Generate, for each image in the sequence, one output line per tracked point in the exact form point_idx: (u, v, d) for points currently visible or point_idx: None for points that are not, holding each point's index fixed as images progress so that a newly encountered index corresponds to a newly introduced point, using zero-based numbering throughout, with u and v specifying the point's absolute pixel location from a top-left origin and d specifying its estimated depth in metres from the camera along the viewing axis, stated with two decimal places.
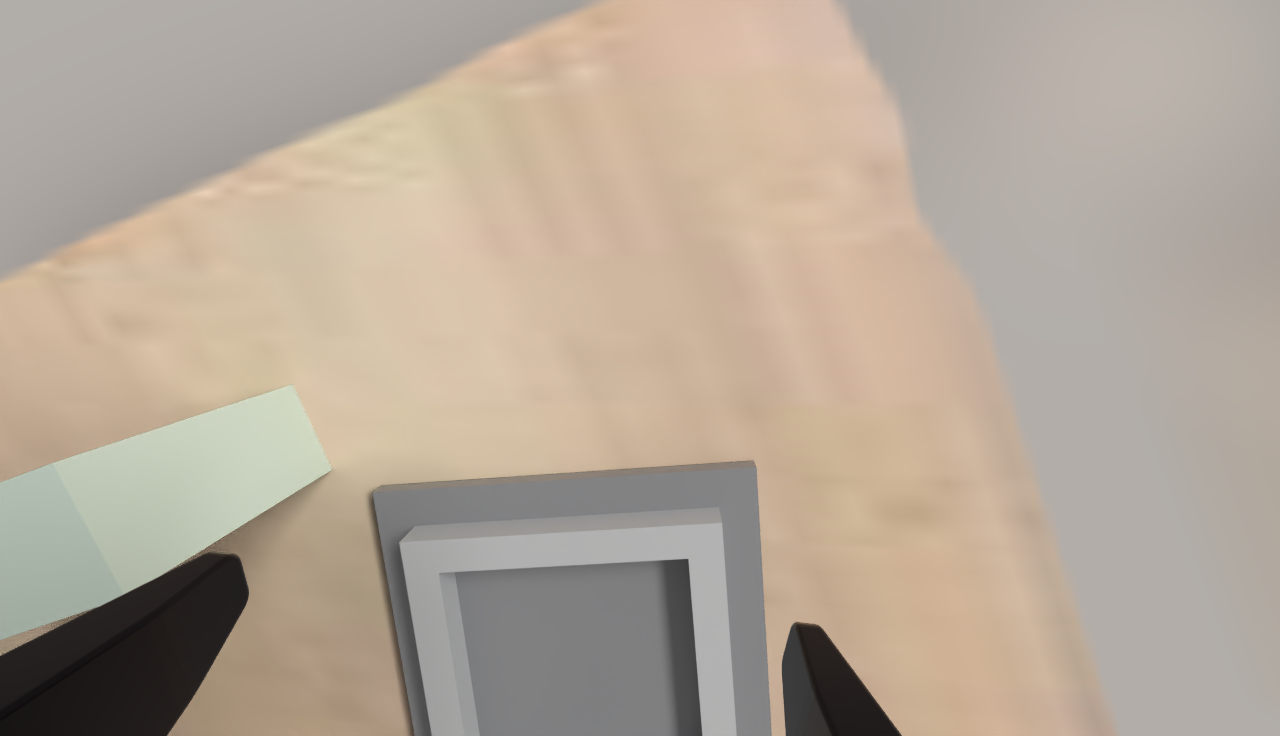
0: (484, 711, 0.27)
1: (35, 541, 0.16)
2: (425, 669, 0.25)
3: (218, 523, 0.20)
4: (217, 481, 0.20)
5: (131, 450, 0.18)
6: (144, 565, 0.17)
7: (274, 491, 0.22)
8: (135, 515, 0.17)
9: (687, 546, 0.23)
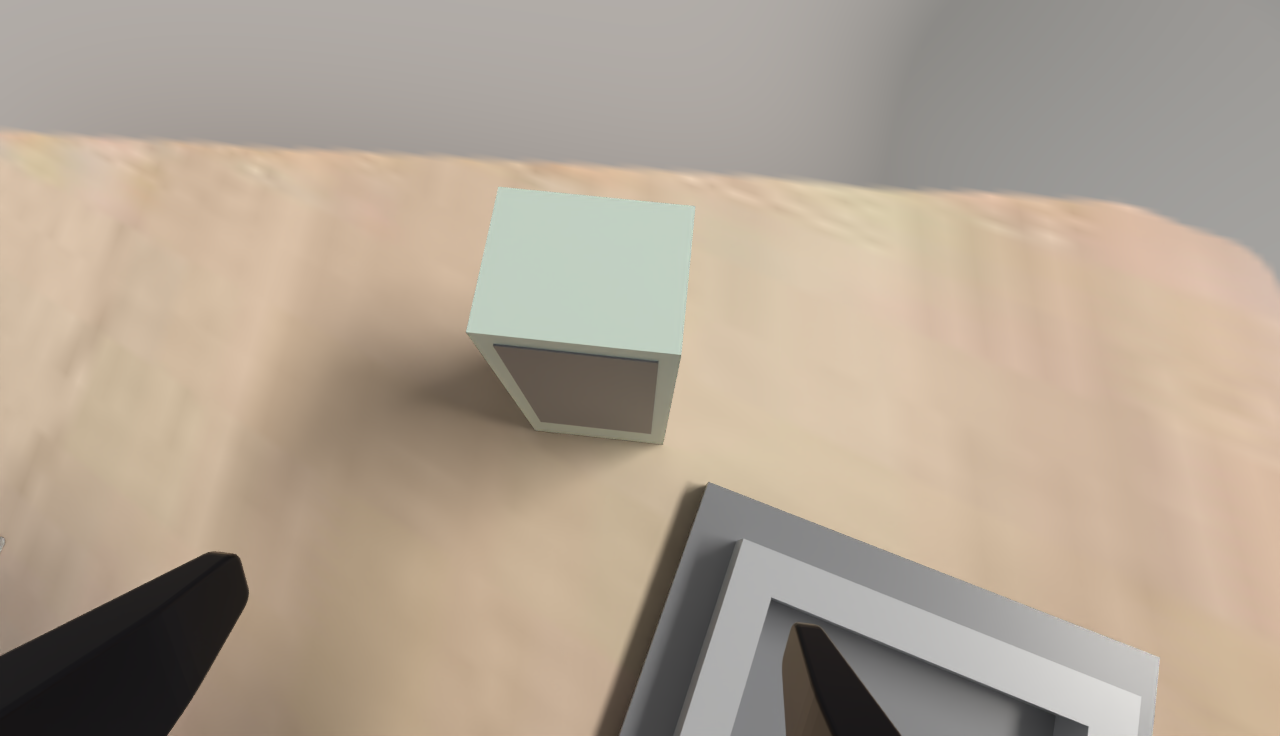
0: None
1: (624, 262, 0.14)
2: (691, 722, 0.18)
3: None
4: None
5: None
6: None
7: None
8: None
9: (1091, 708, 0.18)
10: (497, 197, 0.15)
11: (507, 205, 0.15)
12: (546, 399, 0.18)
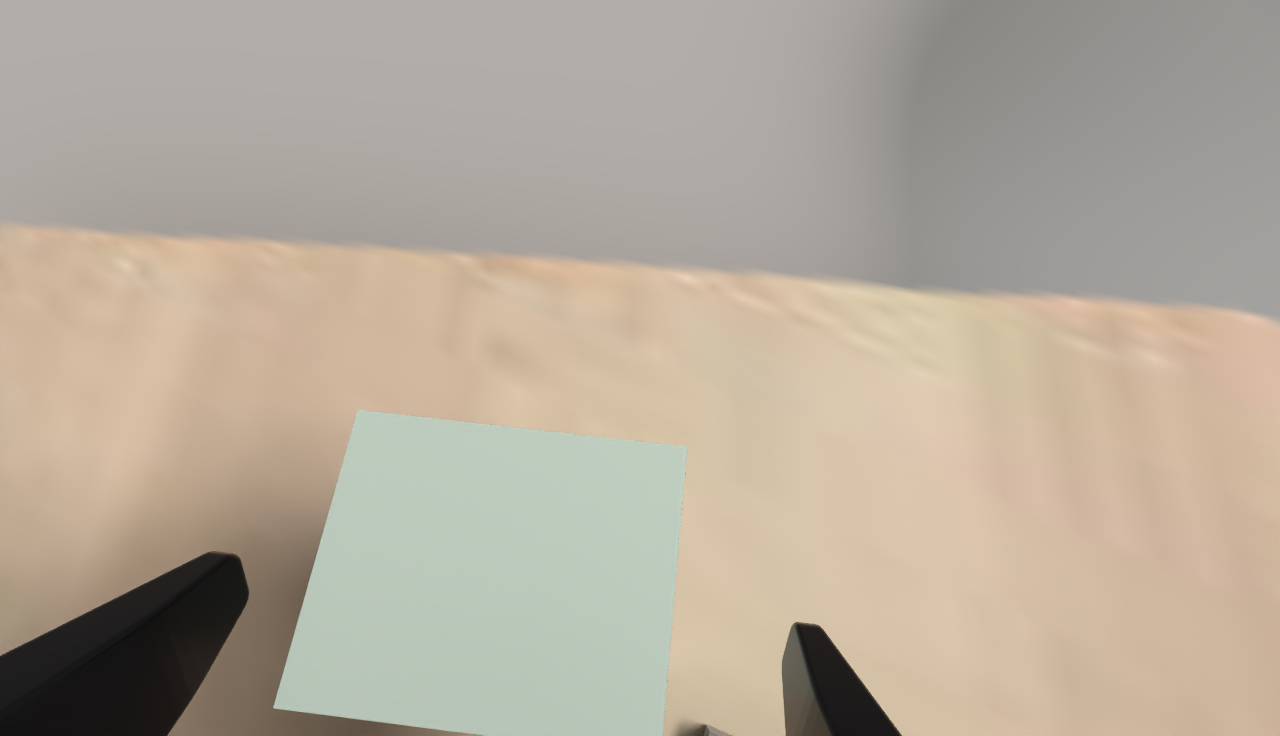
0: None
1: (563, 559, 0.08)
2: None
3: None
4: None
5: None
6: None
7: None
8: None
9: None
10: (354, 430, 0.09)
11: (369, 446, 0.09)
12: None
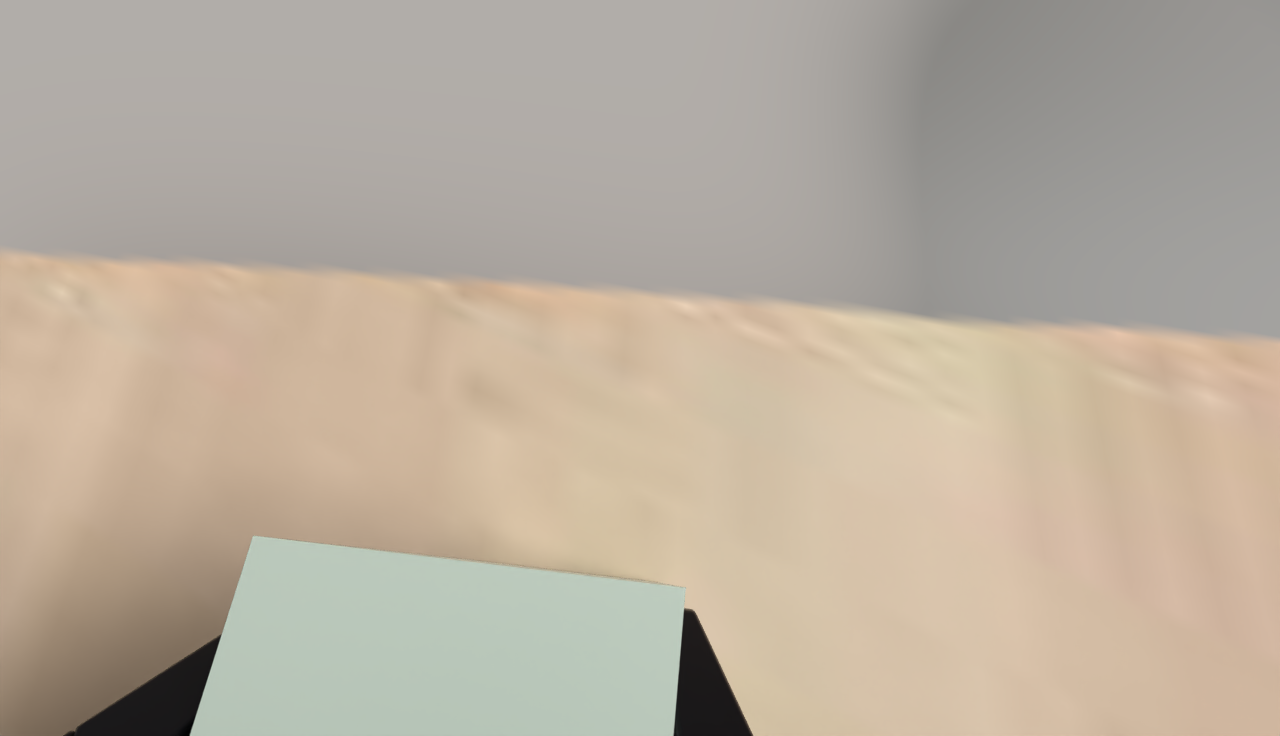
0: None
1: None
2: None
3: None
4: None
5: None
6: None
7: None
8: None
9: None
10: (246, 565, 0.07)
11: (266, 587, 0.07)
12: None
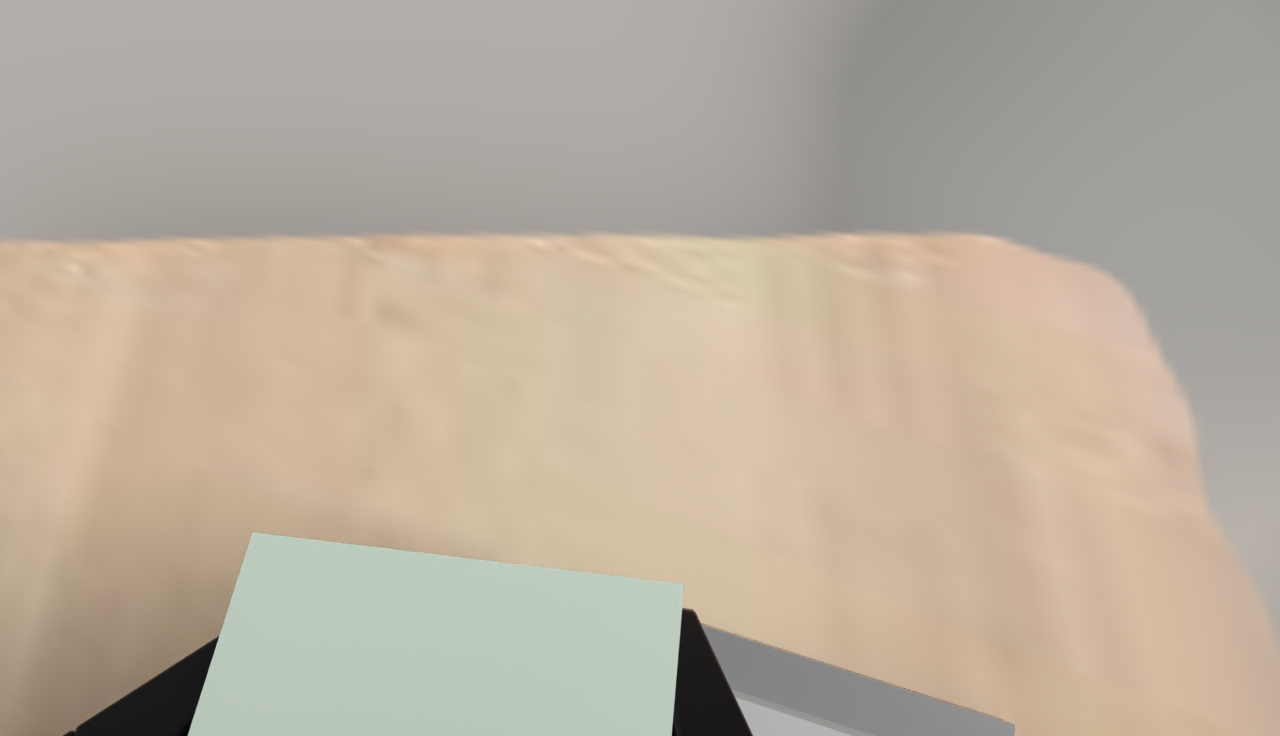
0: None
1: None
2: None
3: None
4: None
5: None
6: None
7: None
8: None
9: None
10: (246, 561, 0.07)
11: (265, 583, 0.07)
12: None
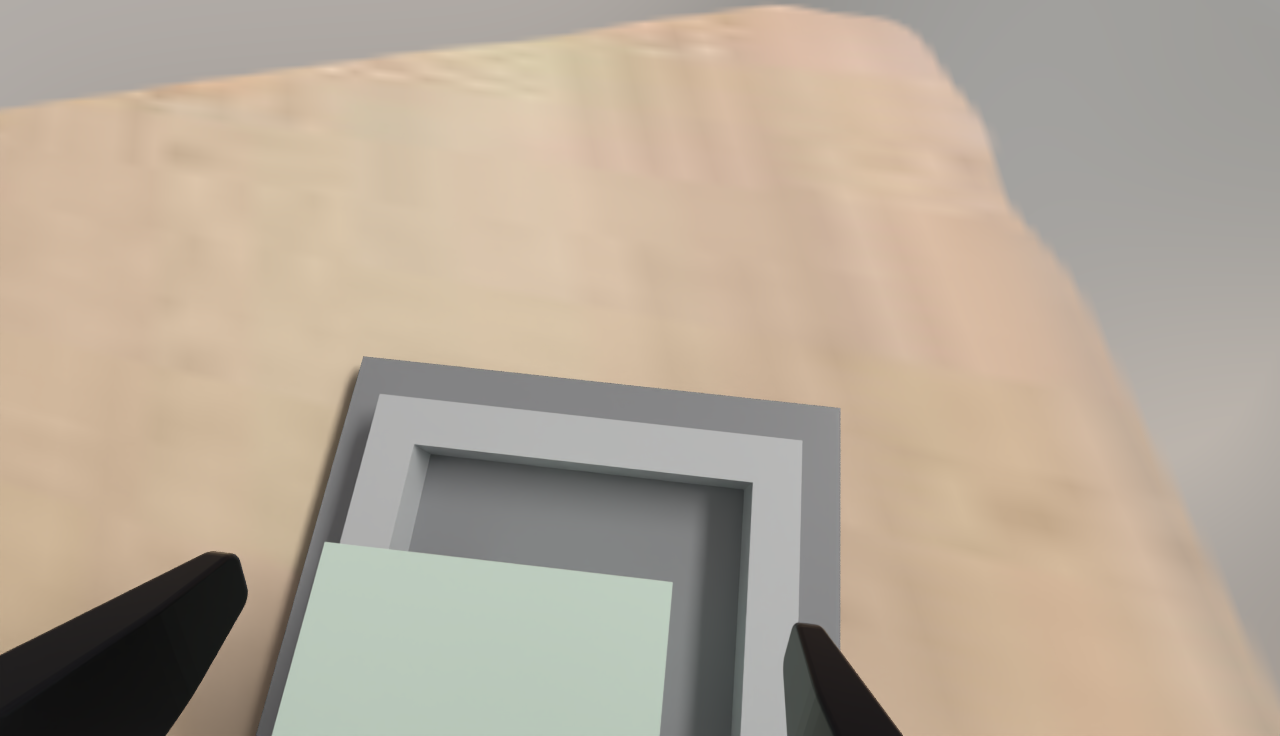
0: None
1: (541, 711, 0.08)
2: None
3: None
4: None
5: None
6: None
7: None
8: None
9: (754, 464, 0.17)
10: (320, 565, 0.08)
11: (337, 583, 0.08)
12: None
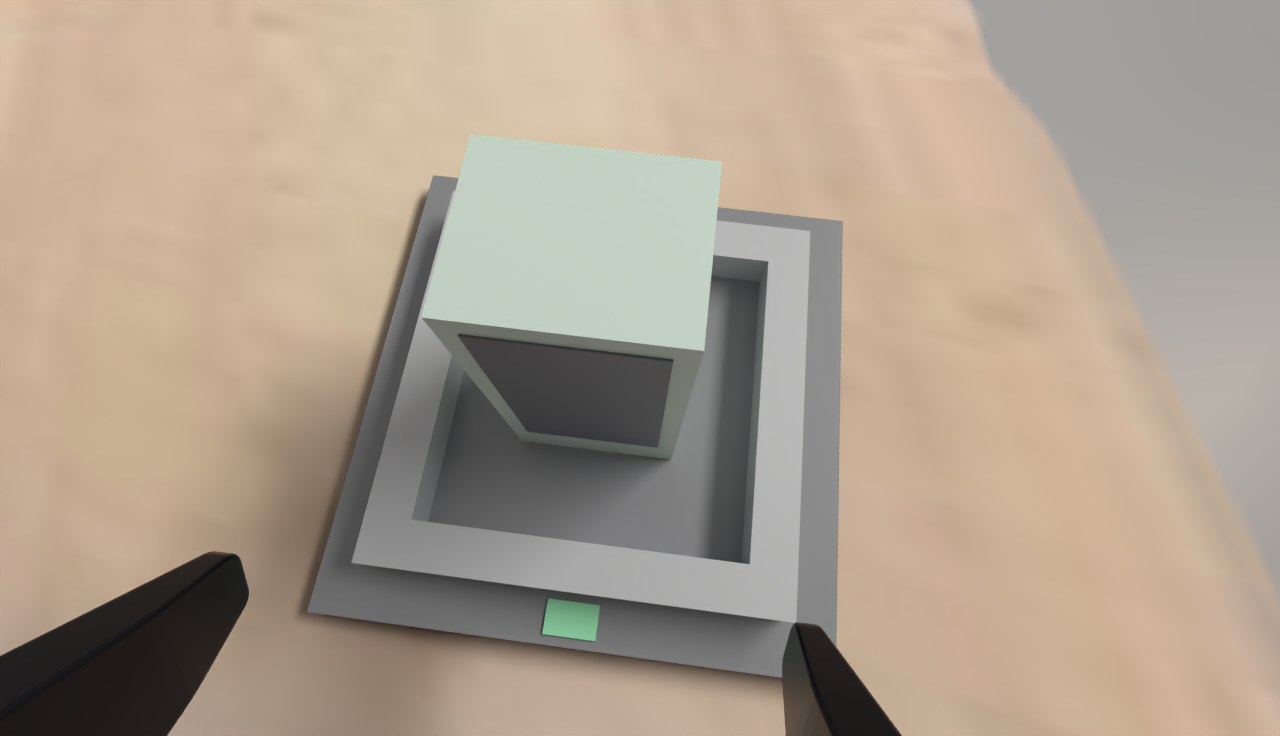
0: (456, 450, 0.20)
1: (630, 230, 0.11)
2: (419, 336, 0.20)
3: None
4: None
5: None
6: None
7: None
8: None
9: (769, 248, 0.21)
10: (468, 147, 0.12)
11: (481, 157, 0.12)
12: (532, 406, 0.15)
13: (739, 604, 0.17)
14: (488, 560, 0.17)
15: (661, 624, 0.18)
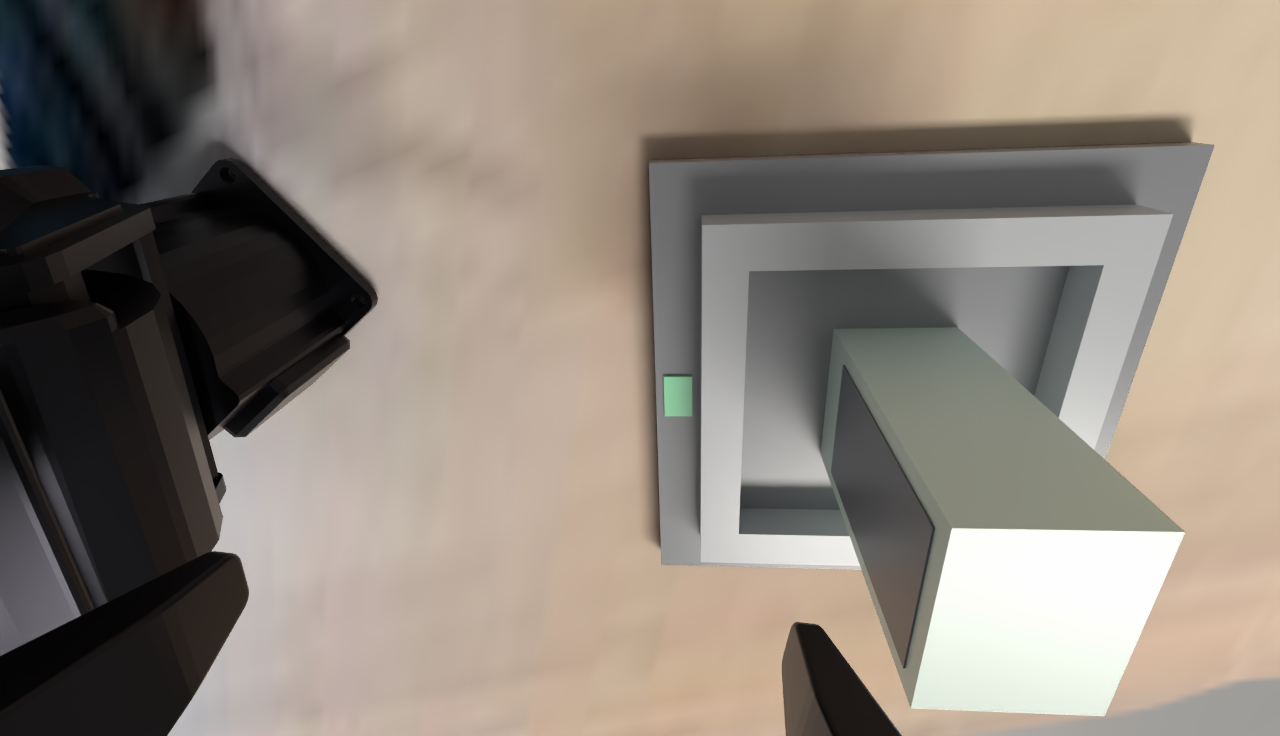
0: None
1: (1034, 662, 0.12)
2: (956, 226, 0.17)
3: None
4: None
5: None
6: None
7: None
8: None
9: None
10: (1165, 534, 0.11)
11: (1148, 546, 0.11)
12: (867, 437, 0.16)
13: (708, 528, 0.22)
14: (719, 348, 0.19)
15: (684, 459, 0.23)
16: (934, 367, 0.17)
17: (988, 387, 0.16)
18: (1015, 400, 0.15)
